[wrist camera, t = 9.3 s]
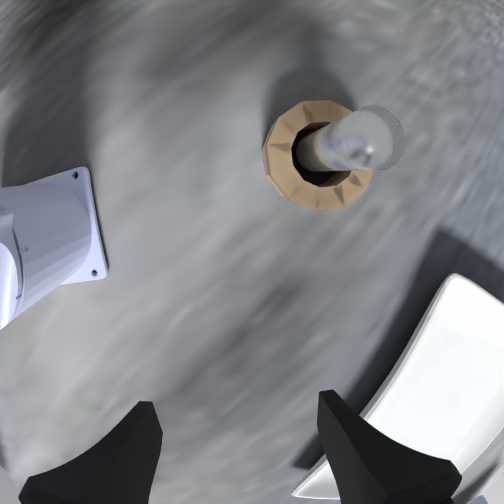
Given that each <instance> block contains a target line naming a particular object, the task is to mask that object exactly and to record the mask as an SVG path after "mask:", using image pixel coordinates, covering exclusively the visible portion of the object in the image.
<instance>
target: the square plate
mask: <svg viewBox="0 0 504 504" xmlns="http://www.w3.org/2000/svg"><path fill="white" fill-rule="evenodd" d="M359 415H360V416H361V417H362V418H363V419H364V420H366V421H367V422H368V423H369V424H371V425H372V426H373V427H374V428H376V429H377V430H379V431H380V432H382V433H383V434H385V435H386V436H388V437H389V438H391V439H393V440H395V441H396V442H398V443H400V444H402V445H405V446H407V447H409V448H411V449H414V450H416V451H419V452H421V453H424V454H427V455H430V456H434V457H438V458H442V459H447V460H451V462H452V463H453V464H454V465H455V466H456V468H457V469H458V471H459V473H460V474H461V473H463V472H464V471H465V470H466V469H467V468H468V467H469V466H470V465H471V464H472V463H473V462H474V461H475V460H476V458H477V457H478V456H479V455H480V454H481V453H482V452H483V451H484V450H485V449H486V448H487V447H488V445H489V444H490V443H491V442H492V441H493V440H494V438H495V437H496V436H497V435H498V434H499V432H500V431H501V430H502V429H503V427H504V303H502V302H501V301H500V300H498V299H497V298H495V297H494V296H493V295H491V294H490V293H489V292H487V291H486V290H484V289H483V288H481V287H480V286H479V285H477V284H476V283H474V282H473V281H471V280H470V279H468V278H466V277H464V276H462V275H460V274H457V273H453V274H450V275H449V276H448V277H447V278H446V279H445V280H444V282H443V283H442V284H441V286H440V287H439V289H438V291H437V292H436V294H435V296H434V298H433V299H432V301H431V303H430V304H429V306H428V308H427V310H426V312H425V313H424V315H423V317H422V319H421V320H420V322H419V324H418V326H417V328H416V329H415V331H414V333H413V335H412V337H411V339H410V340H409V342H408V344H407V346H406V347H405V349H404V351H403V353H402V354H401V356H400V358H399V359H398V361H397V362H396V364H395V365H394V367H393V369H392V370H391V372H390V373H389V375H388V376H387V378H386V379H385V381H384V382H383V383H382V385H381V386H380V388H379V389H378V391H377V392H376V393H375V395H374V396H373V398H372V399H371V400H370V402H369V403H368V404H367V406H366V407H365V408H364V409H363V411H362V412H361V413H360V414H359ZM291 494H292V495H293V496H296V497H302V498H317V499H340V496H339V492H338V488H337V484H336V481H335V478H334V476H333V473H332V470H331V468H330V465H329V462H328V460H327V457H326V455H325V454H324V455H323V456H322V457H321V458H320V460H319V461H318V462H317V463H316V464H315V465H314V466H313V467H312V468H311V469H310V471H309V472H308V473H307V474H306V475H305V476H304V477H303V479H302V480H301V481H300V482H299V484H298V485H297V486H296V487H295V488H294V489H293V490H292V492H291Z"/></svg>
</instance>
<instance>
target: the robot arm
mask: <svg viewBox="0 0 504 504" xmlns="http://www.w3.org/2000/svg"><path fill="white" fill-rule="evenodd" d="M76 172H77V173H78V178H77V179H76V178H75V173H76ZM93 270H96V271H97V273H98V275H95V274H94V272H93ZM107 275H108V268H107V264H106V259H105V255H104V251H103V246H102V242H101V237H100V232H99V227H98V222H97V217H96V211H95V206H94V200H93V194H92V187H91V181H90V173H89V170H88V168H87V167H78V168H74V169H71V170H68V171H64V172H61V173H58V174H55V175H52V176H49V177H46V178H43V179H40V180H37V181H34V182H31V183H28V184H25V185H21V186H12V187H4V188H0V330H1V329H2V328H3V327H4V326H6V325H7V324H8V323H9V322H10V321H12V320H13V319H14V318H16V317H17V316H18V315H19V314H21V313H22V312H23V311H25V310H26V309H27V308H29V307H30V306H31V305H33V304H34V303H35V302H37V301H38V300H39V299H41V298H42V297H43V296H45V295H46V294H48V293H49V292H50V291H52V290H53V289H54V288H56V287H57V286H59V285H61V284H69V283H76V282H83V281H90V280H97V279H103V278H105V277H106V276H107ZM317 426H318V431H319V436H320V440H321V444H322V446H323V449H324V452H325V455H326V457H327V460H328V462H329V465H330V468H331V470H332V473H333V476H334V478H335V481H336V484H337V488H338V492H339V496H340V500H341V504H453V501H452V499H451V496H452V495H453V493H454V492H455V491H456V489H457V488H458V486H459V485H460V483H461V480H462V476H461V474H460V473H459V471H458V469H457V468H456V466H455V465H454V464H453V463H452V462H451V460H447V459H442V458H438V457H434V456H430V455H427V454H424V453H421V452H419V451H416V450H414V449H411V448H409V447H407V446H405V445H402V444H400V443H398V442H396V441H395V440H393V439H391V438H389V437H388V436H386V435H385V434H383V433H382V432H380V431H379V430H377V429H376V428H374V427H373V426H372V425H371V424H369V423H368V422H367V421H366V420H364V419H363V418H362V417H361V416H360V415H359V414H357V413H356V412H355V411H354V410H353V409H352V408H351V407H350V406H349V405H348V404H347V403H346V402H345V401H344V400H343V399H342V398H341V397H340V396H339V395H338V394H337V393H336V392H335V391H334V390H326V391H320V392H319V401H318V416H317ZM162 436H163V432H162V429H161V426H160V424H159V421H158V418H157V415H156V412H155V409H154V406H153V403H152V402H147V401H139V402H138V403H137V404H136V405H135V406H134V407H133V408H132V409H131V411H130V412H129V413H128V414H127V415H126V416H125V417H124V418H123V419H122V420H121V421H120V422H119V423H118V424H117V425H116V426H115V427H114V428H113V429H112V430H111V431H110V432H109V433H108V434H107V435H106V436H105V437H103V438H102V439H101V440H100V441H99V442H98V443H96V444H95V445H94V446H93V447H91V448H90V449H88V450H87V451H86V452H84V453H83V454H81V455H79V456H78V457H76V458H74V459H73V460H71V461H69V462H67V463H65V464H63V465H61V466H59V467H57V468H55V469H52V470H50V471H47V472H44V473H41V474H38V475H34V476H31V477H29V478H28V479H27V481H26V483H25V485H24V487H23V488H22V490H21V493H20V494H19V500H20V502H21V504H148V501H149V494H150V490H151V486H152V482H153V478H154V474H155V471H156V467H157V463H158V460H159V456H160V452H161V445H162ZM466 504H488V503H487V501H486V500H485V498H484V497H483V495H480V496H479V497H477V498H475V499H473V500H472V501H470V502H468V503H466Z"/></svg>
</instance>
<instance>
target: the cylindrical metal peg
mask: <svg viewBox="0 0 504 504" xmlns="http://www.w3.org/2000/svg"><path fill="white" fill-rule="evenodd" d="M404 148H405V136H404V132H403V129H402V126H401V124H400V122H399V121H398V119H397V118H396V117H395V116H394V115H393V114H392V113H391V112H389V111H388V110H386V109H384V108H382V107H379V106H366V107H363V108H361V109H359V110H357V111H355V112H353V113H350V114H348V115H346V116H344V117H342V118H340V119H338V120H336V121H334V122H332V123H330V124H328V125H327V126H325V127H323V128H321V129H319V130H317V131H315V132H313V133H311V134H309V135H307V136H305V137H304V138H303V139H301V141H300V142H299V143H298V146H297V149H296V155H297V159H298V161H299V163H300V164H301V165H302V166H303V167H304V168H305V169H307V170H309V171H314V172H318V171H349V170H385V169H389V168H391V167H393V166H394V165H395V164H396V163H397V162H398V161H399V160H400V158H401V157H402V155H403V152H404Z"/></svg>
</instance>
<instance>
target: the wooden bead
mask: <svg viewBox="0 0 504 504" xmlns="http://www.w3.org/2000/svg"><path fill="white" fill-rule="evenodd" d="M350 113H353V111H351V110H349V109H347V108H345V107H343V106H341V105H339V104H337V103H335V102H333V101H331V100H317V101H302V102H300V103H299V104H297V105H296V106H294V107H293V108H291V109H290V110H288V111H287V112H285V113H284V114H283V115H281V116H280V117H278V119H277V120H276V121H275V122H274V124H273V125H272V127H271V129H270V131H269V134H268V136H267V138H266V141H265V143H264V145H263V148H262V153H263V161H264V168H265V175H266V176H267V178H268V179H269V180H270V182H271V183H272V184H273V185H274V187H275V188H276V189H277V191H278V192H279V193H280V195H281V196H283V197H285V198H288V199H290V200H292V201H295V202H297V203H299V204H302V205H304V206H306V207H309V208H311V209H313V210H316V211H319V210H327V209H335V208H344V207H345V206H347V205H348V204H349V203H351V202H352V201H353V200H354V199H356V198H357V197H358V196H359V195H361V194H362V193H363V192H365V191H366V189H367V186H368V184H369V181H370V179H371V176H372V173H373V171H374V170H349V171H335V174H334V176H333V177H331V178H330V179H329V180H327V181H326V182H325V183H323V184H321V185H313V184H311V183H309V182H306V181H304V180H303V178H302V177H301V176H300V174H299V173H298V172H297V170H296V169H295V168H294V166H293V161H292V153H291V146H292V144H293V142H294V139H295V137H296V134H297V132H298V131H300V130H303V129H317V130H319V129H321V128H323V127H325V126H327V125H328V124H330V123H332V122H334V121H336V120H338V119H340V118H342V117H344V116H346V115H348V114H350Z"/></svg>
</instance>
